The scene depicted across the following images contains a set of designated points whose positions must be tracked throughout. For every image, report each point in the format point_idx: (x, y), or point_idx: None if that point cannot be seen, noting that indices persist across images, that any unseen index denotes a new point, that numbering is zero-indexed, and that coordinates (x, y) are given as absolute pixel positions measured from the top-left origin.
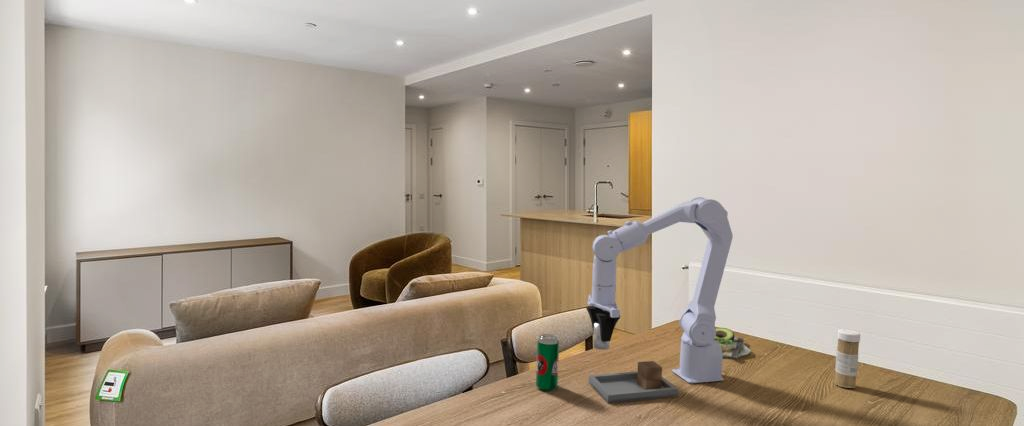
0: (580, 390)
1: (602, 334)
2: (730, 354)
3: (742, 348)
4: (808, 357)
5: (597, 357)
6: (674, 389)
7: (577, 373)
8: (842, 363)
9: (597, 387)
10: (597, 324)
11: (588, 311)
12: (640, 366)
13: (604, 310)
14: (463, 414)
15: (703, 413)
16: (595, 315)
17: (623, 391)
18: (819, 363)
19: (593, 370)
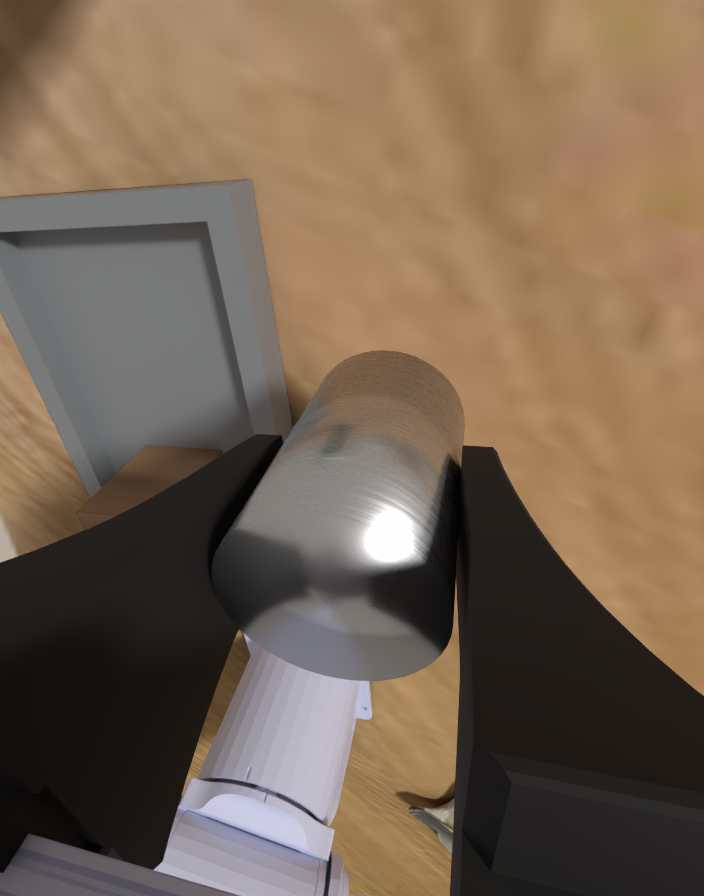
0: (126, 63)
1: (200, 474)
2: (447, 816)
3: None
4: (407, 882)
5: (680, 427)
6: None
7: (427, 148)
8: None
9: (95, 192)
10: (278, 536)
11: (626, 699)
12: None
13: (81, 866)
14: None
15: (24, 522)
16: (465, 683)
17: (109, 338)
18: (367, 870)
19: (456, 302)
